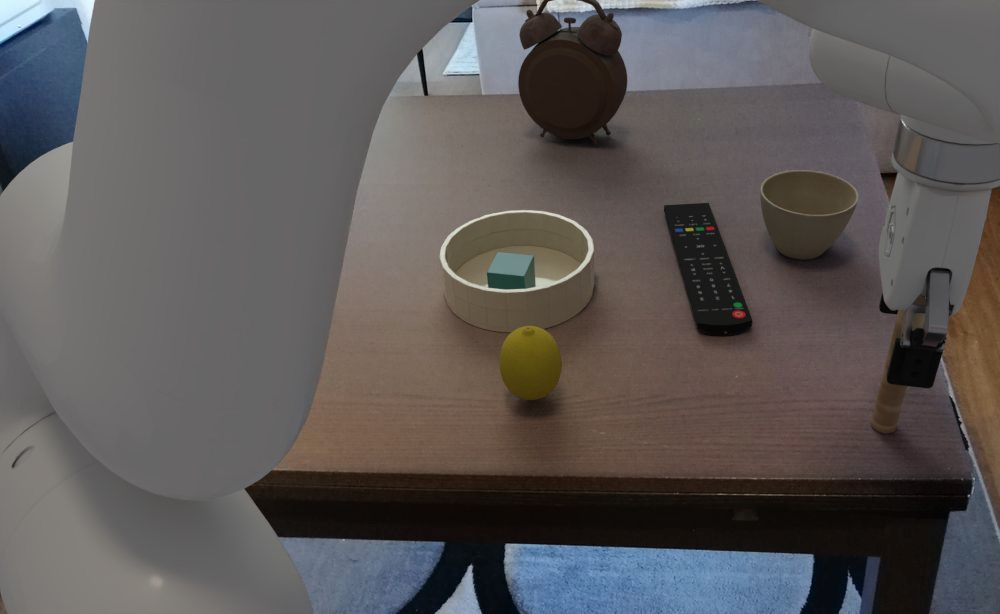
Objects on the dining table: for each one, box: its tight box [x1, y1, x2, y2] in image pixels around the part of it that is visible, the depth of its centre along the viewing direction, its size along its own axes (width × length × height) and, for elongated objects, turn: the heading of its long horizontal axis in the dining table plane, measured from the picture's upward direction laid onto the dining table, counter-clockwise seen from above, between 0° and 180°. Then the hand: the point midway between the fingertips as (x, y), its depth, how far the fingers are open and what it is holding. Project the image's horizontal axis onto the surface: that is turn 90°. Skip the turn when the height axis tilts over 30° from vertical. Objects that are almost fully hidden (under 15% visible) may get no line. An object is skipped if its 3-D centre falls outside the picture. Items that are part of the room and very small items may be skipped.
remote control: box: [663, 202, 753, 337], centre depth 95 cm, size 5×24×1 cm, turn 179°
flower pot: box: [759, 169, 860, 261], centre depth 95 cm, size 10×10×7 cm
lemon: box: [499, 326, 563, 401], centre depth 78 cm, size 6×6×8 cm
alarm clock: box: [517, 0, 628, 146], centre depth 119 cm, size 15×7×20 cm, turn 65°
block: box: [487, 252, 536, 290], centre depth 91 cm, size 4×4×4 cm
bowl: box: [438, 209, 595, 334], centre depth 93 cm, size 16×16×5 cm
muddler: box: [870, 296, 926, 434], centre depth 70 cm, size 2×2×13 cm
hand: (903, 346), depth 69 cm, fingers open, 8 cm apart
